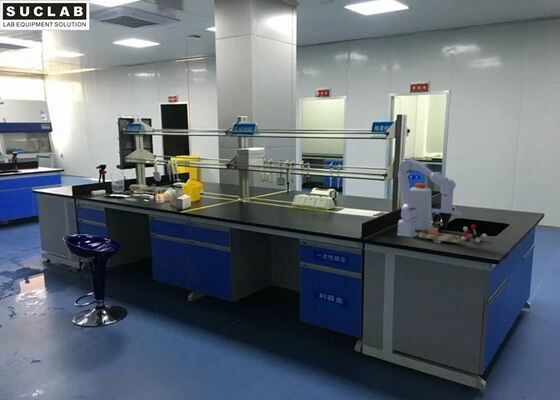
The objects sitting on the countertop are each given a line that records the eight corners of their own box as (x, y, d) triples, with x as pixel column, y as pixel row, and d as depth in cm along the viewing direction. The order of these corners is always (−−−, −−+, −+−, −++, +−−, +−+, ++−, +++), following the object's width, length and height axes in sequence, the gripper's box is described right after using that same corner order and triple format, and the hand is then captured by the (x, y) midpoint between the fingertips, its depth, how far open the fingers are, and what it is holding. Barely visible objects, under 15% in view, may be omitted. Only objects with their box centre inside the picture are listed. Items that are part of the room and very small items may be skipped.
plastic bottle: (403, 229, 264) (405, 184, 259) (408, 224, 277) (410, 181, 273) (428, 232, 257) (431, 185, 252) (432, 227, 270) (435, 183, 266)
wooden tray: (418, 239, 239) (418, 230, 238) (422, 237, 244) (423, 228, 243) (455, 245, 227) (456, 236, 226) (459, 242, 232) (459, 233, 232)
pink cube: (428, 235, 237) (428, 228, 236) (430, 233, 239) (430, 227, 239) (435, 236, 234) (436, 229, 234) (437, 234, 237) (438, 228, 237)
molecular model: (471, 245, 243) (476, 229, 243) (484, 248, 235) (489, 231, 236) (454, 237, 235) (460, 220, 236) (467, 239, 228) (473, 222, 229)
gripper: (430, 201, 231) (429, 226, 233) (459, 204, 223) (457, 230, 225) (434, 200, 237) (433, 224, 239) (462, 203, 228) (460, 227, 231)
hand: (445, 226), depth 232 cm, fingers closed
